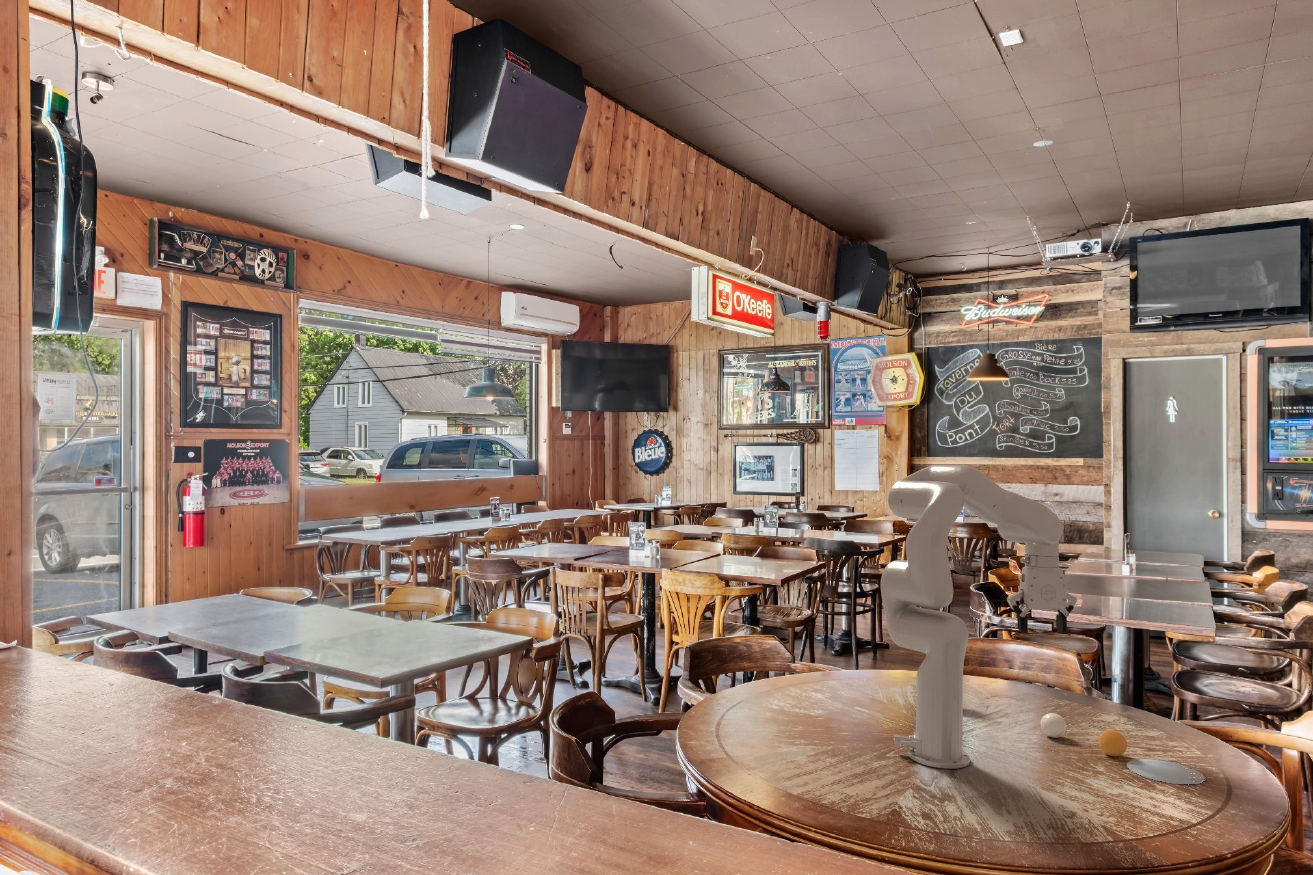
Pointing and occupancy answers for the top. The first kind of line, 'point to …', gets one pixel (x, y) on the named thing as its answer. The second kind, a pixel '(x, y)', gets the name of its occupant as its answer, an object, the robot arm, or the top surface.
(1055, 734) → the cue ball
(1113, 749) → the orange ball
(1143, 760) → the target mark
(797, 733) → the top surface
